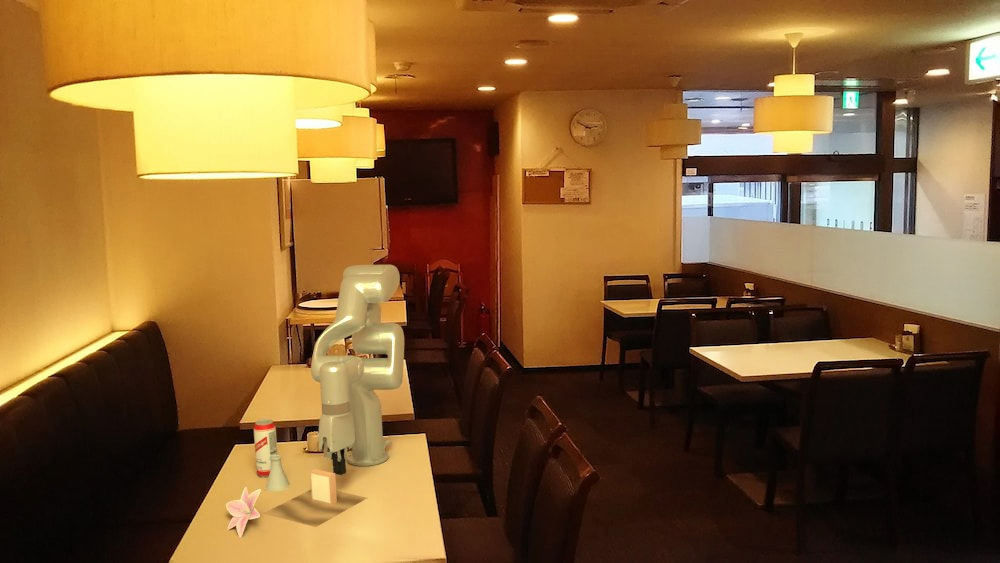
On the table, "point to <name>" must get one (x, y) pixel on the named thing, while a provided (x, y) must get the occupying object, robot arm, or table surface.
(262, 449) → the beer can
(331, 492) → the tile
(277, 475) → the flask
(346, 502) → the board
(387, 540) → the table surface
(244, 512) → the lily
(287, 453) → the table surface
